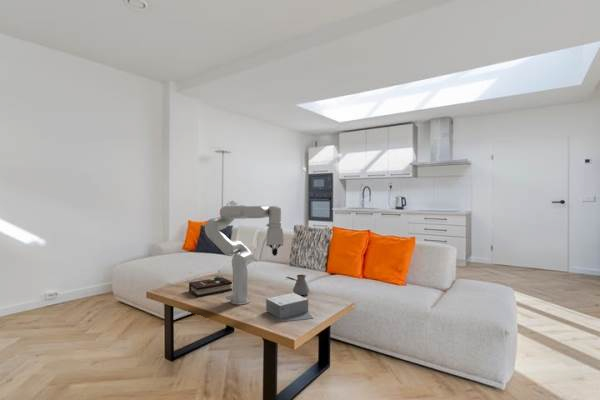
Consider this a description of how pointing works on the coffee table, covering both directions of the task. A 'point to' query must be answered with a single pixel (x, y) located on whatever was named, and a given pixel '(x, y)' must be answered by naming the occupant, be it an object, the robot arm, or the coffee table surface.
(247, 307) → the coffee table surface
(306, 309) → the hard drive box
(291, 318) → the mat
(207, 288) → the decorative book
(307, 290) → the coffee pot
